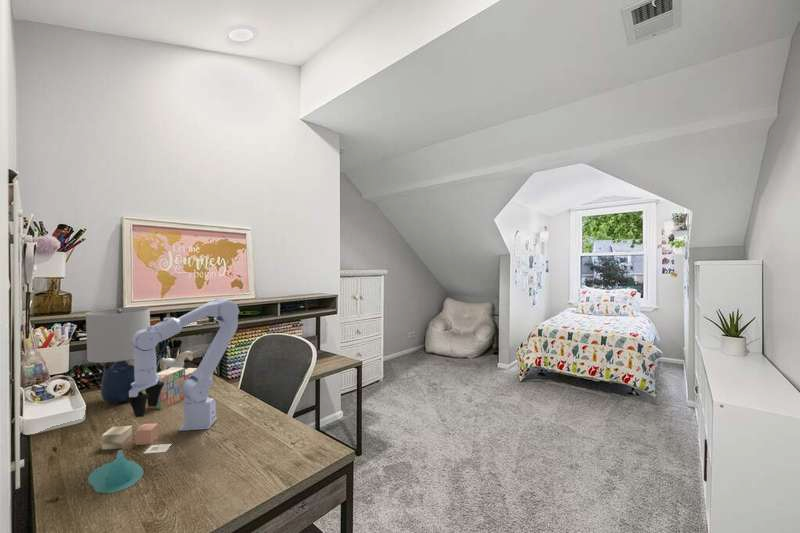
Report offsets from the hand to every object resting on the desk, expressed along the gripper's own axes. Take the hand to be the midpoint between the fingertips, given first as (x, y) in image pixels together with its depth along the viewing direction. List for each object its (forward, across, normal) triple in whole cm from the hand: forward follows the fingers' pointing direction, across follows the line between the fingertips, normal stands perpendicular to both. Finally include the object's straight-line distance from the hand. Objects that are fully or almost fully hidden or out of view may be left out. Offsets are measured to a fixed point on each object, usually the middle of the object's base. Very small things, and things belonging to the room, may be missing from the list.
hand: (146, 411), depth 116 cm
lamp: (+10, -37, -28) cm, 47 cm away
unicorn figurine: (+10, -64, -17) cm, 67 cm away
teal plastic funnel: (+10, +18, +2) cm, 21 cm away
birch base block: (+10, +1, -8) cm, 12 cm away
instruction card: (+9, +6, +6) cm, 13 cm away
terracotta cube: (+10, 0, 0) cm, 10 cm away
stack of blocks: (+10, -36, -7) cm, 38 cm away
